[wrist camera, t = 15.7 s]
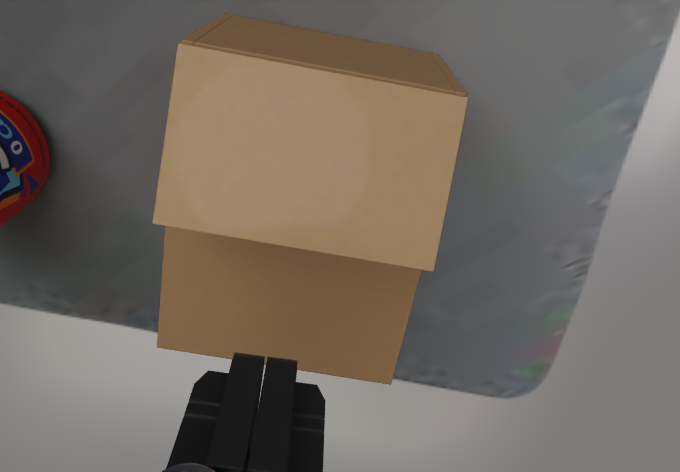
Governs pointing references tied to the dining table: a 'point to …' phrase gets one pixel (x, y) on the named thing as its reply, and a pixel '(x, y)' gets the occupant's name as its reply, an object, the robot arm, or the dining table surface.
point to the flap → (307, 158)
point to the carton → (291, 263)
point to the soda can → (20, 158)
